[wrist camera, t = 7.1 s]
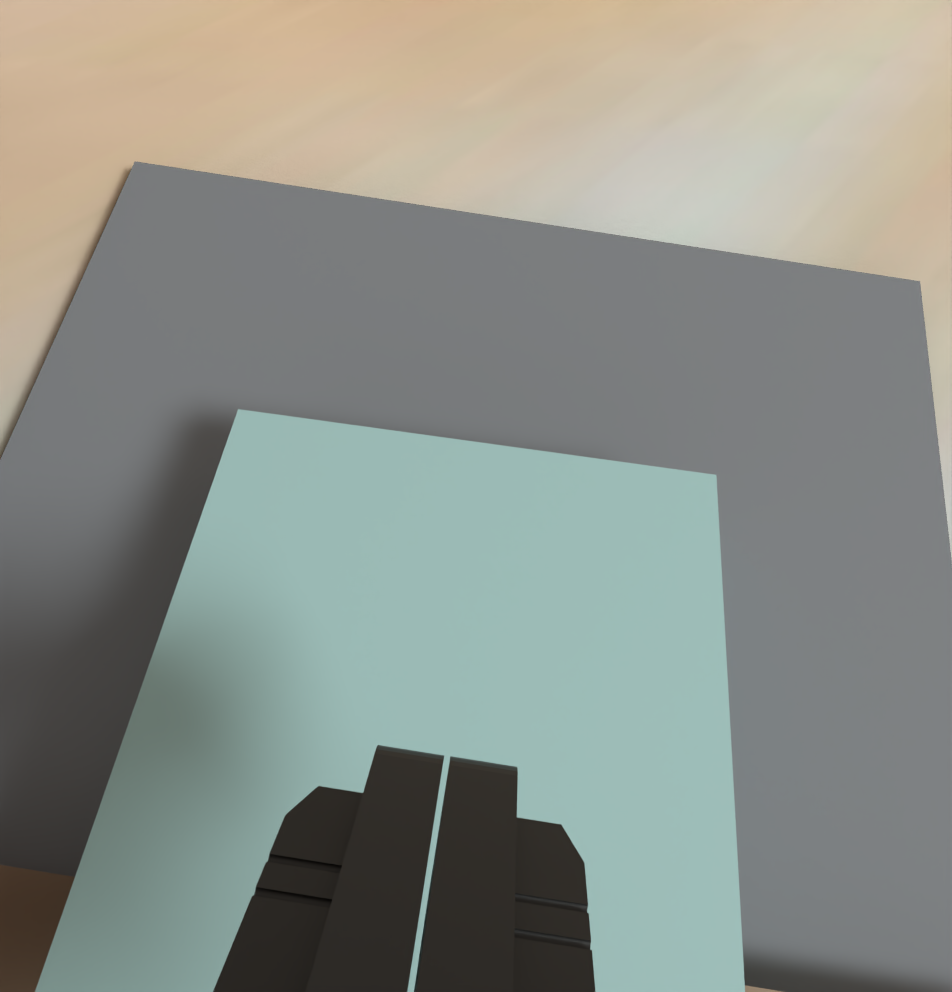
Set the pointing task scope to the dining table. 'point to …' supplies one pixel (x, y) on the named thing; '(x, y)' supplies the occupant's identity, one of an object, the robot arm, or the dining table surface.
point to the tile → (425, 692)
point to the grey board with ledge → (523, 424)
